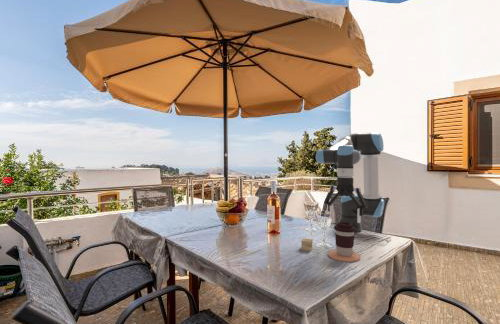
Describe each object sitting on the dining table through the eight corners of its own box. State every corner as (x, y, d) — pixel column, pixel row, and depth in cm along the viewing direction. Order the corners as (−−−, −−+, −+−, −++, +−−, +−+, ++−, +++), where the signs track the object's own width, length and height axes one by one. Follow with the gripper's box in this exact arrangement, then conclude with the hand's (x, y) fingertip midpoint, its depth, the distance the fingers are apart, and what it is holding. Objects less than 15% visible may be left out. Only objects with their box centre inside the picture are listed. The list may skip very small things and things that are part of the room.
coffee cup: (341, 258, 129) (341, 226, 129) (329, 251, 138) (330, 221, 138) (359, 256, 131) (360, 225, 131) (347, 249, 141) (347, 220, 141)
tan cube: (302, 247, 149) (302, 237, 148) (312, 248, 147) (312, 238, 147) (301, 250, 144) (301, 240, 144) (311, 251, 142) (311, 241, 142)
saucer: (335, 249, 146) (335, 247, 146) (364, 255, 136) (364, 253, 136) (323, 256, 134) (323, 254, 134) (354, 264, 124) (354, 262, 124)
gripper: (317, 176, 139) (317, 217, 140) (369, 178, 124) (369, 225, 124) (324, 175, 145) (323, 215, 146) (374, 177, 129) (373, 222, 130)
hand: (344, 220), depth 135 cm, fingers open, 13 cm apart
